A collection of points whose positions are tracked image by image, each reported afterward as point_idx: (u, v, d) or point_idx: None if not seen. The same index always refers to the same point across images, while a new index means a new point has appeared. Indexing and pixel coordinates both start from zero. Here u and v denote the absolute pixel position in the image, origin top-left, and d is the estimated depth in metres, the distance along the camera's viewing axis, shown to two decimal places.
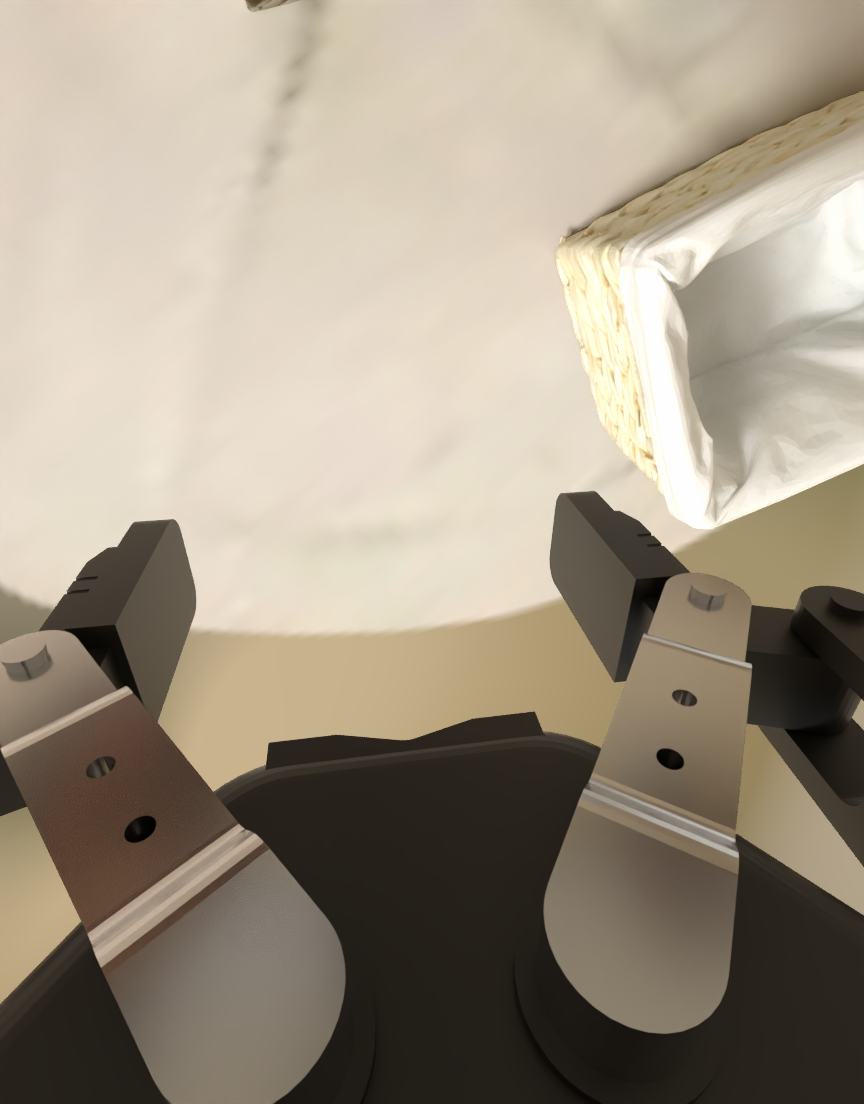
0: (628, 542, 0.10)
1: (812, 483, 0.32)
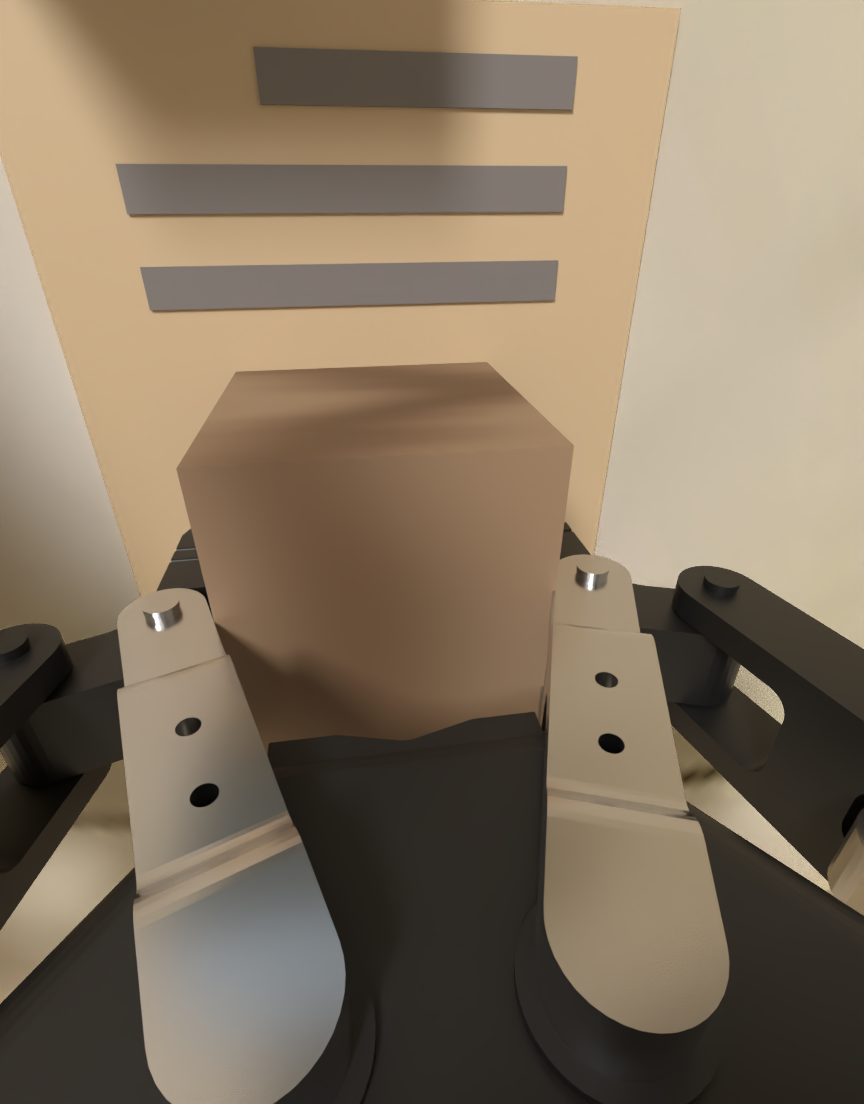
0: None
1: None
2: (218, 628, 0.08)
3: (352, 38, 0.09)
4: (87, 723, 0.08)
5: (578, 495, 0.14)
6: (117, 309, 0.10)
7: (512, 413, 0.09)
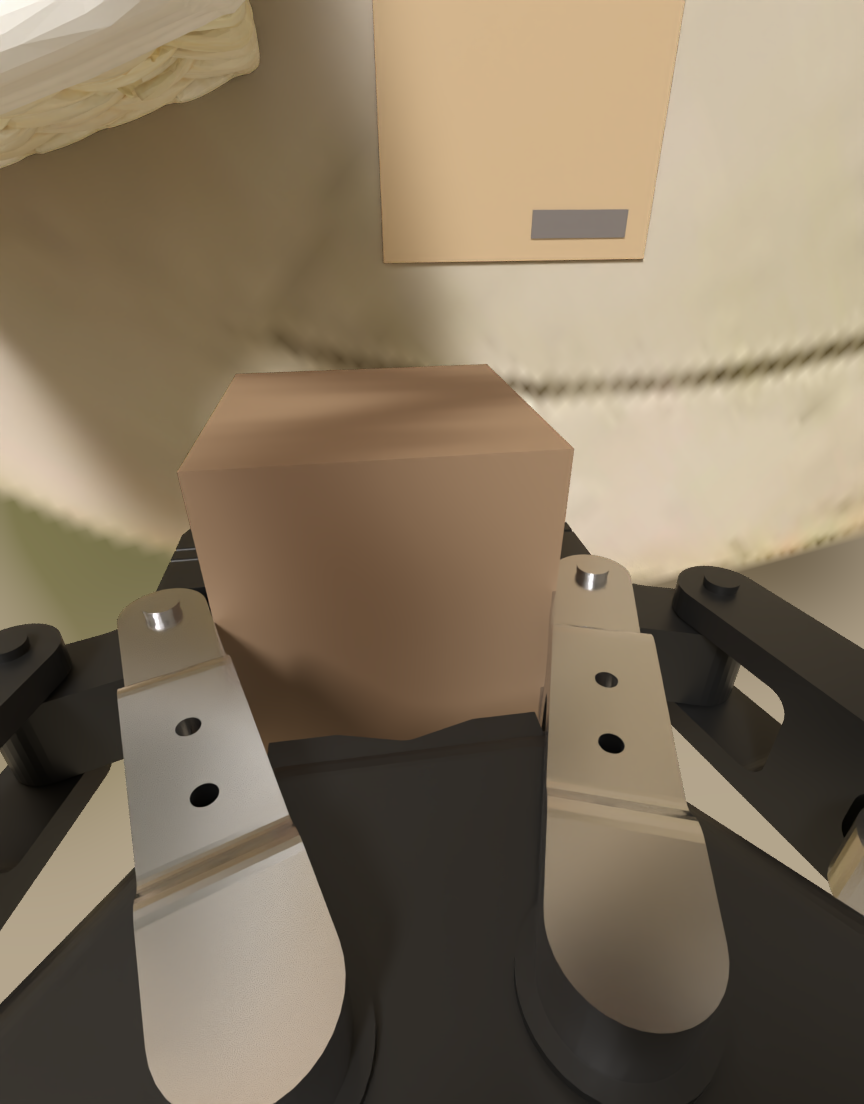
0: None
1: None
2: (218, 631, 0.08)
3: None
4: (87, 723, 0.08)
5: (657, 68, 0.21)
6: None
7: (512, 416, 0.09)
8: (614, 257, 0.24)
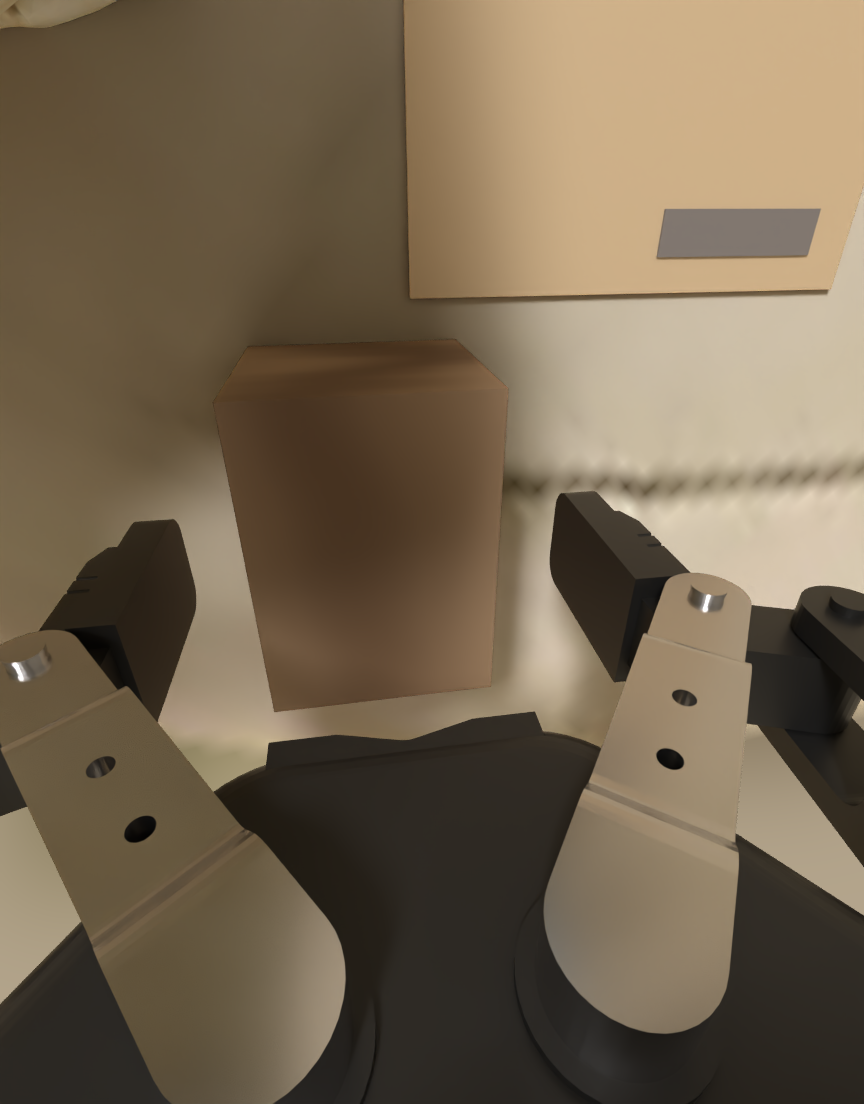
0: (628, 542, 0.10)
1: None
2: (240, 533, 0.11)
3: None
4: None
5: None
6: None
7: (467, 370, 0.11)
8: (786, 287, 0.15)
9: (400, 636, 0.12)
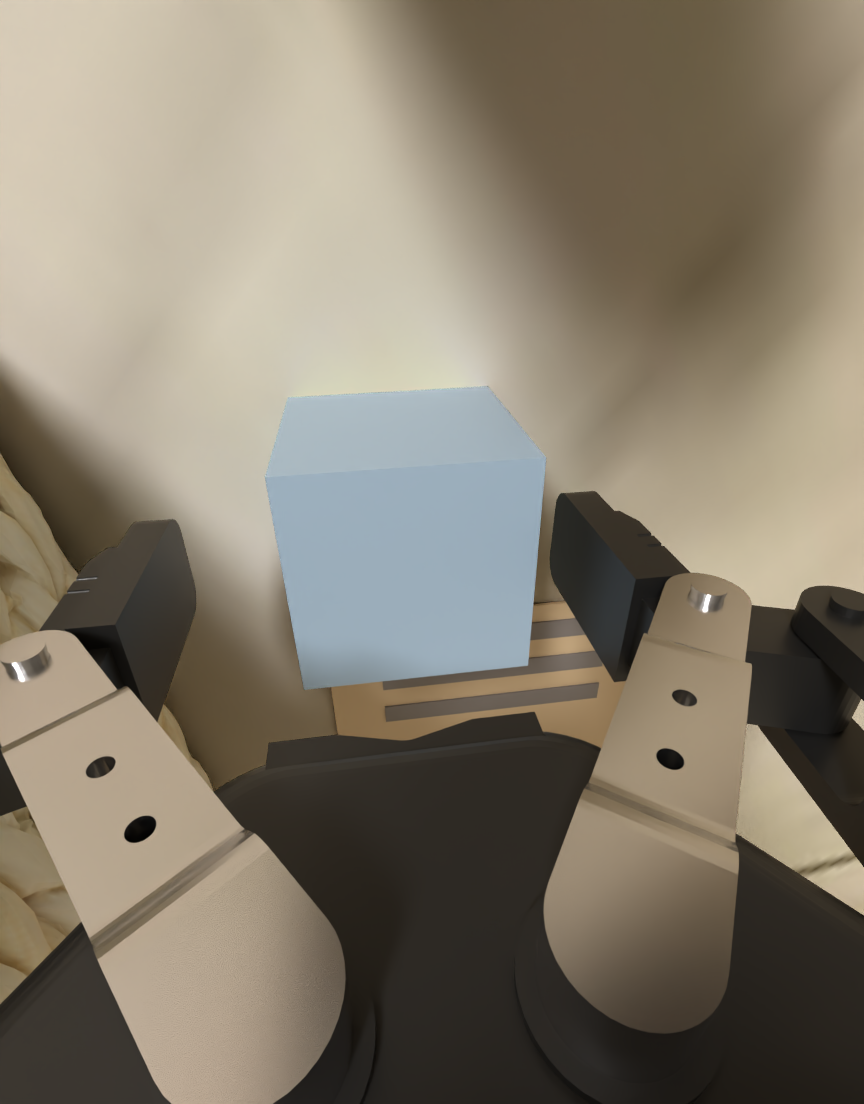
0: (628, 542, 0.10)
1: None
2: None
3: None
4: None
5: None
6: (368, 720, 0.20)
7: None
8: None
9: None
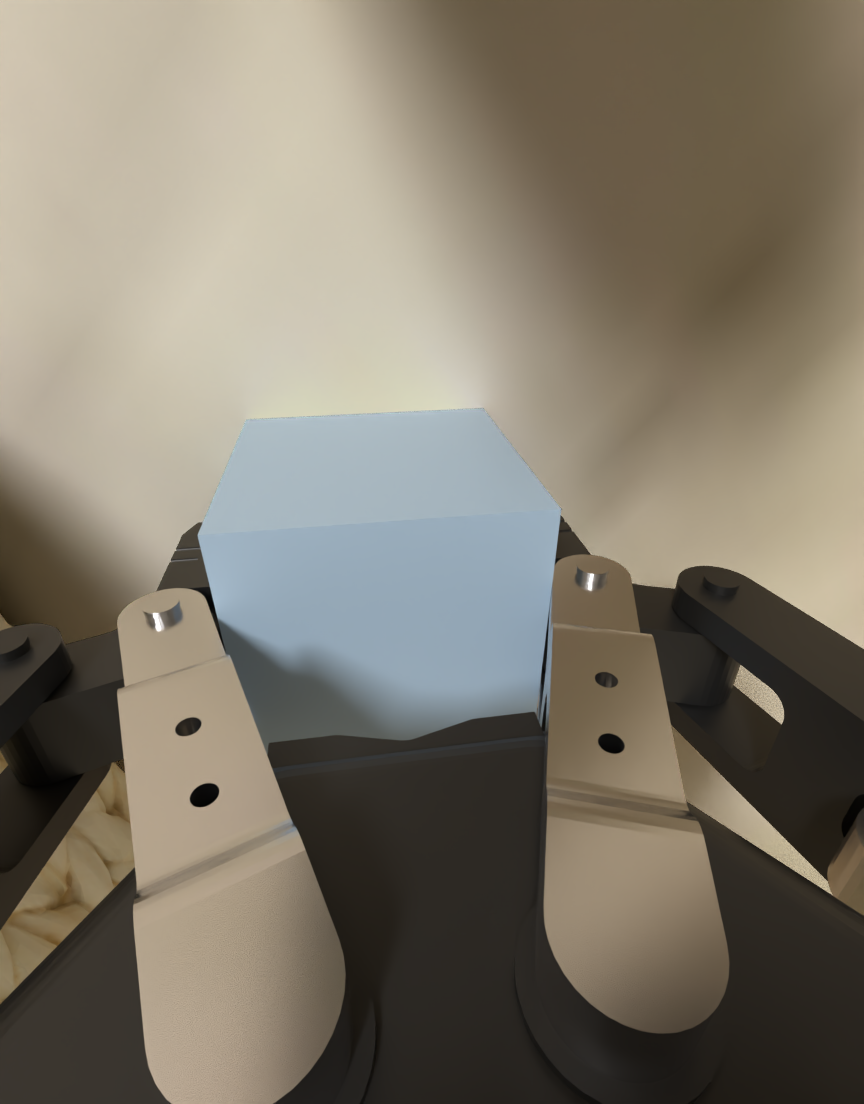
0: None
1: None
2: None
3: None
4: (87, 723, 0.08)
5: None
6: None
7: None
8: None
9: None
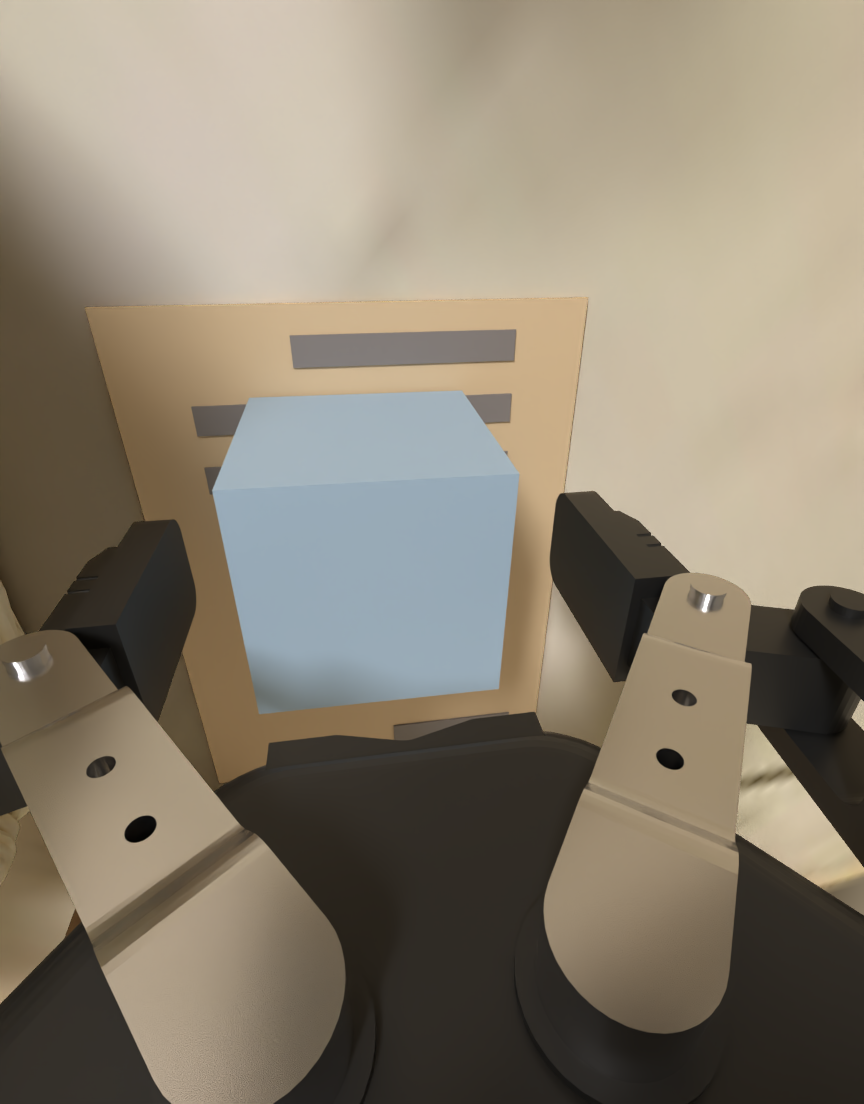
0: (628, 542, 0.10)
1: None
2: None
3: (357, 324, 0.13)
4: None
5: (530, 604, 0.18)
6: (186, 493, 0.14)
7: None
8: None
9: None
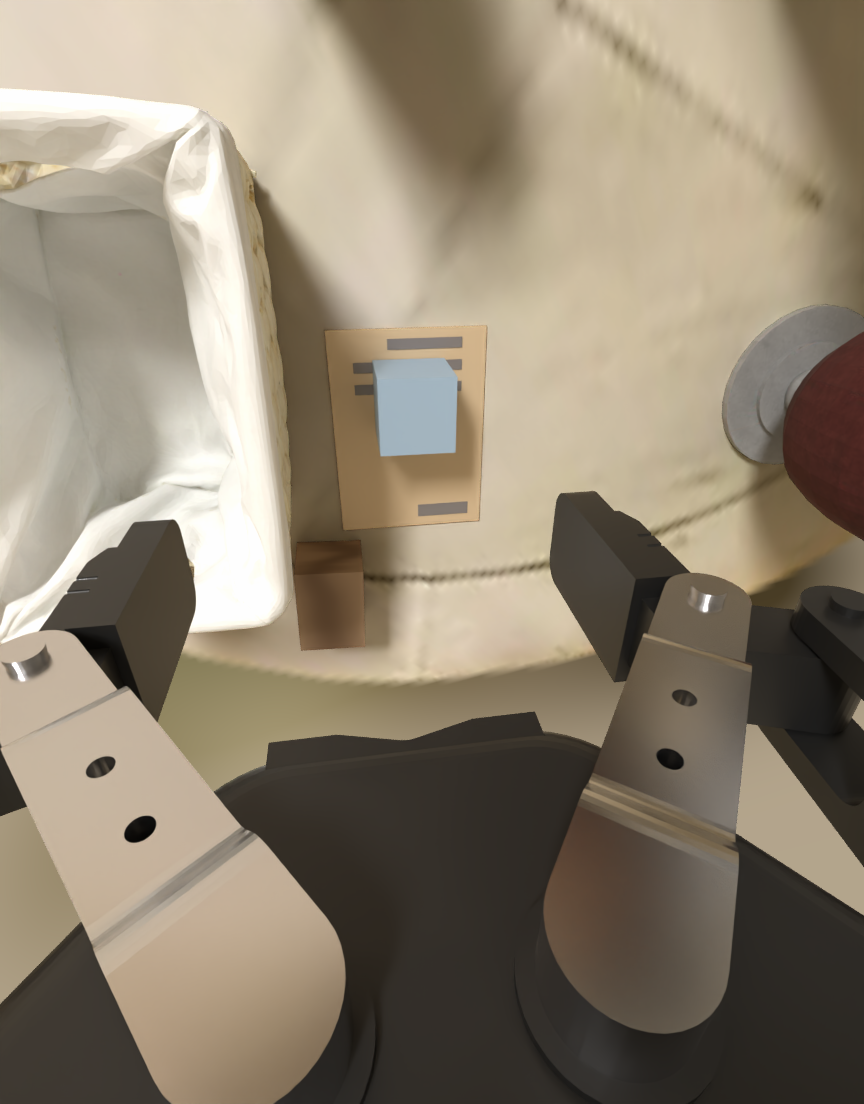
0: (628, 542, 0.10)
1: None
2: (296, 602, 0.43)
3: (409, 335, 0.39)
4: None
5: (474, 447, 0.44)
6: (346, 395, 0.40)
7: (356, 561, 0.44)
8: (463, 520, 0.47)
9: (337, 630, 0.45)
